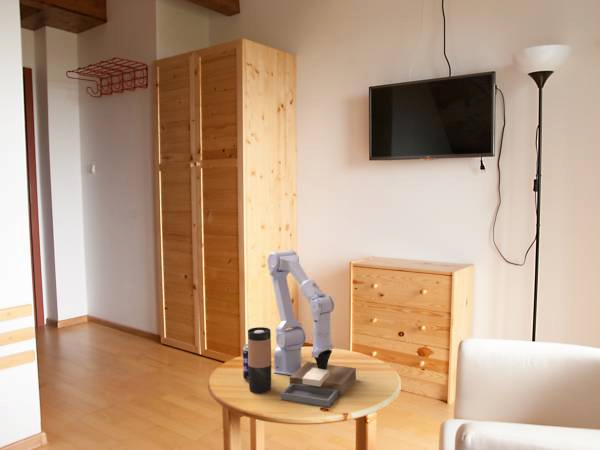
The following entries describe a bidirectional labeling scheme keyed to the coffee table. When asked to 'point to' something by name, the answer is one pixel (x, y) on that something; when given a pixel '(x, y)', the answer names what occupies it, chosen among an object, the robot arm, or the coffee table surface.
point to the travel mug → (259, 359)
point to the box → (309, 395)
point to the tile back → (321, 372)
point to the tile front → (313, 379)
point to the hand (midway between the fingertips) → (322, 371)
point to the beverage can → (245, 363)
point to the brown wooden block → (337, 380)
